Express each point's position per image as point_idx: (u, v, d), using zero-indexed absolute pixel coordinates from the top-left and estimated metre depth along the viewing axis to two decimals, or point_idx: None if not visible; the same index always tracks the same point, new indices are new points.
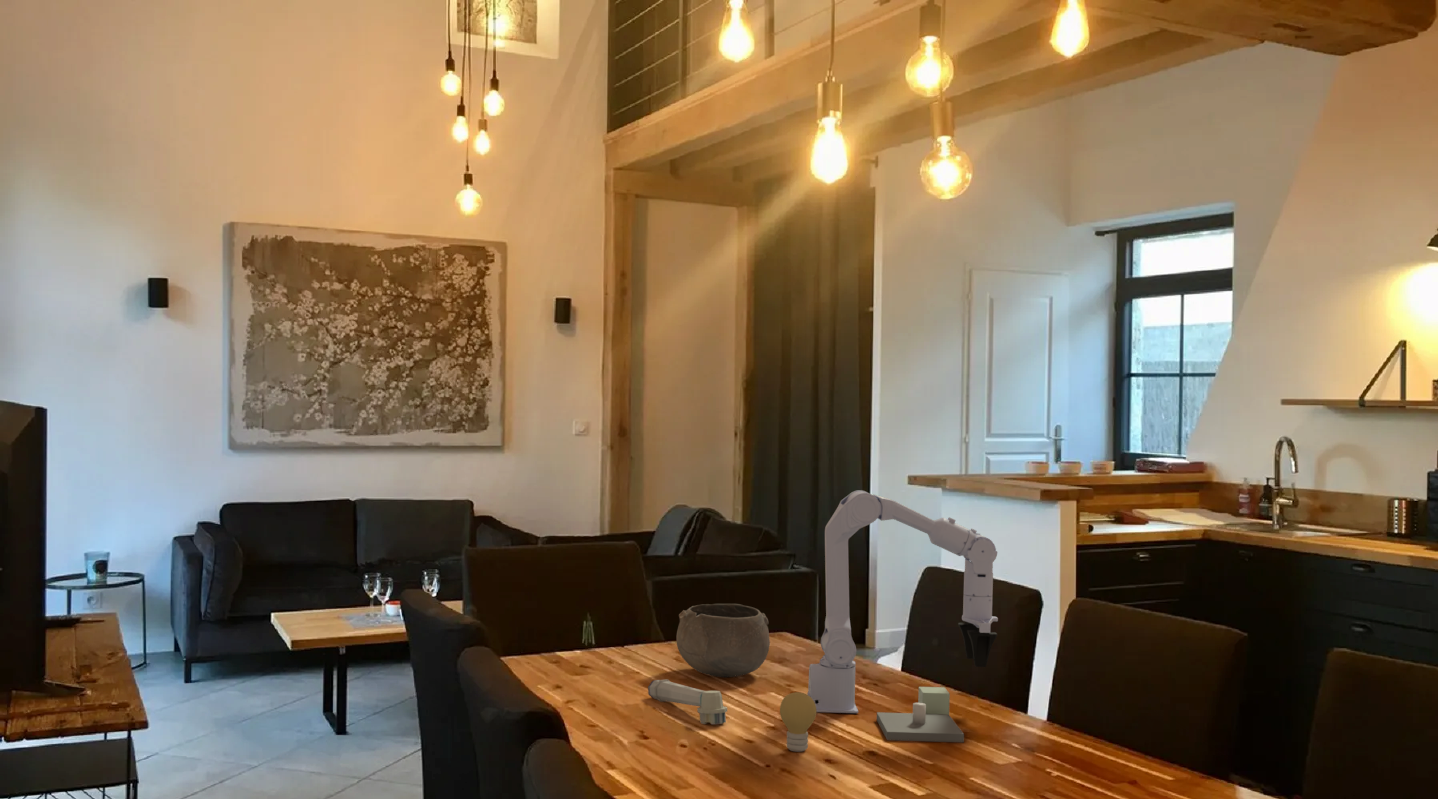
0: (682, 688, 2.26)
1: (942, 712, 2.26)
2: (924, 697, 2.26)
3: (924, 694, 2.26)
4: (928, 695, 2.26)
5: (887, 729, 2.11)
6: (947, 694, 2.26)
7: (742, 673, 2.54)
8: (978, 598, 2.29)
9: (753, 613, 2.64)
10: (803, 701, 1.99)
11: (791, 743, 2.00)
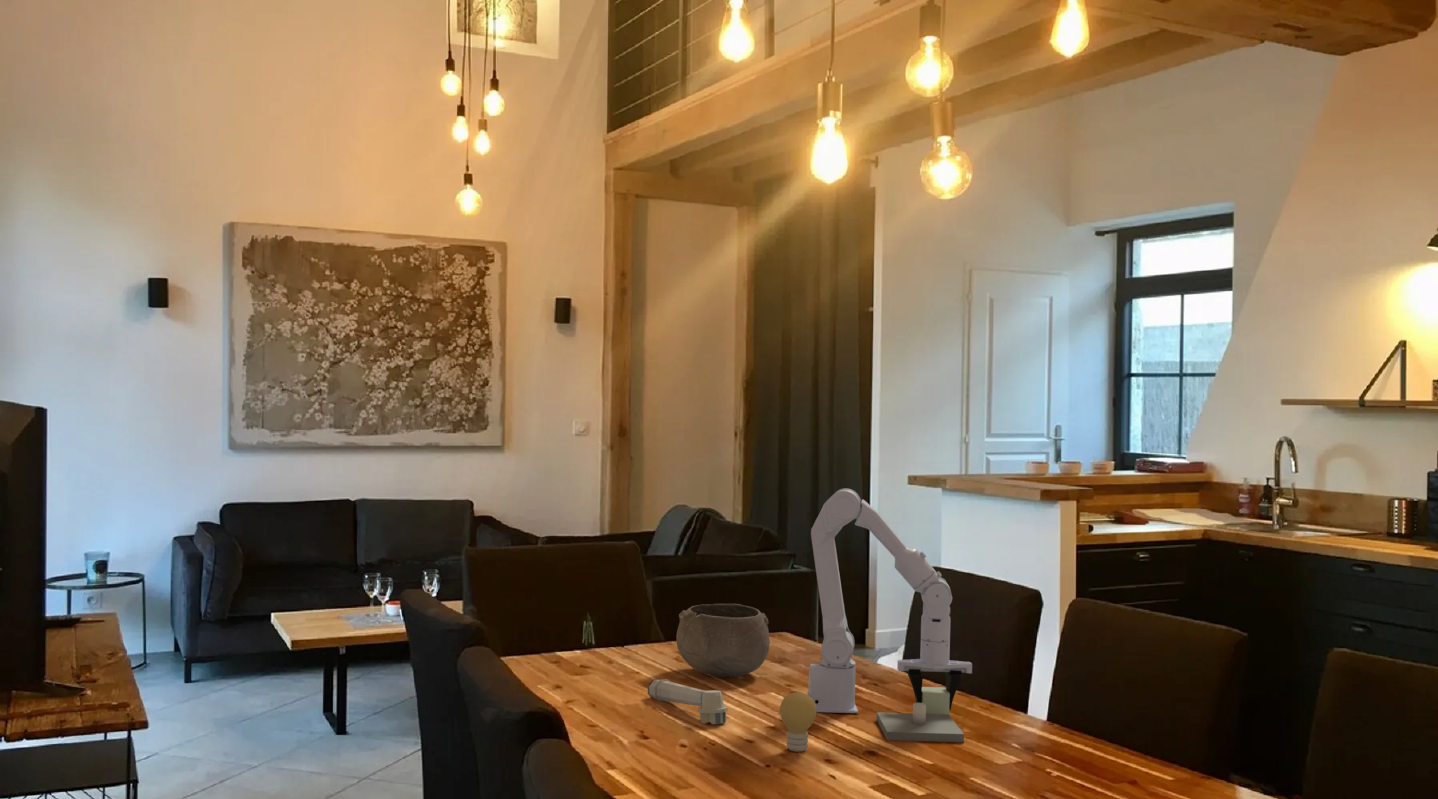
0: (682, 688, 2.26)
1: (942, 712, 2.26)
2: (924, 697, 2.26)
3: (924, 694, 2.26)
4: (928, 695, 2.26)
5: (887, 729, 2.11)
6: (947, 694, 2.26)
7: (742, 673, 2.54)
8: None
9: (753, 613, 2.64)
10: (803, 701, 1.99)
11: (791, 743, 2.00)
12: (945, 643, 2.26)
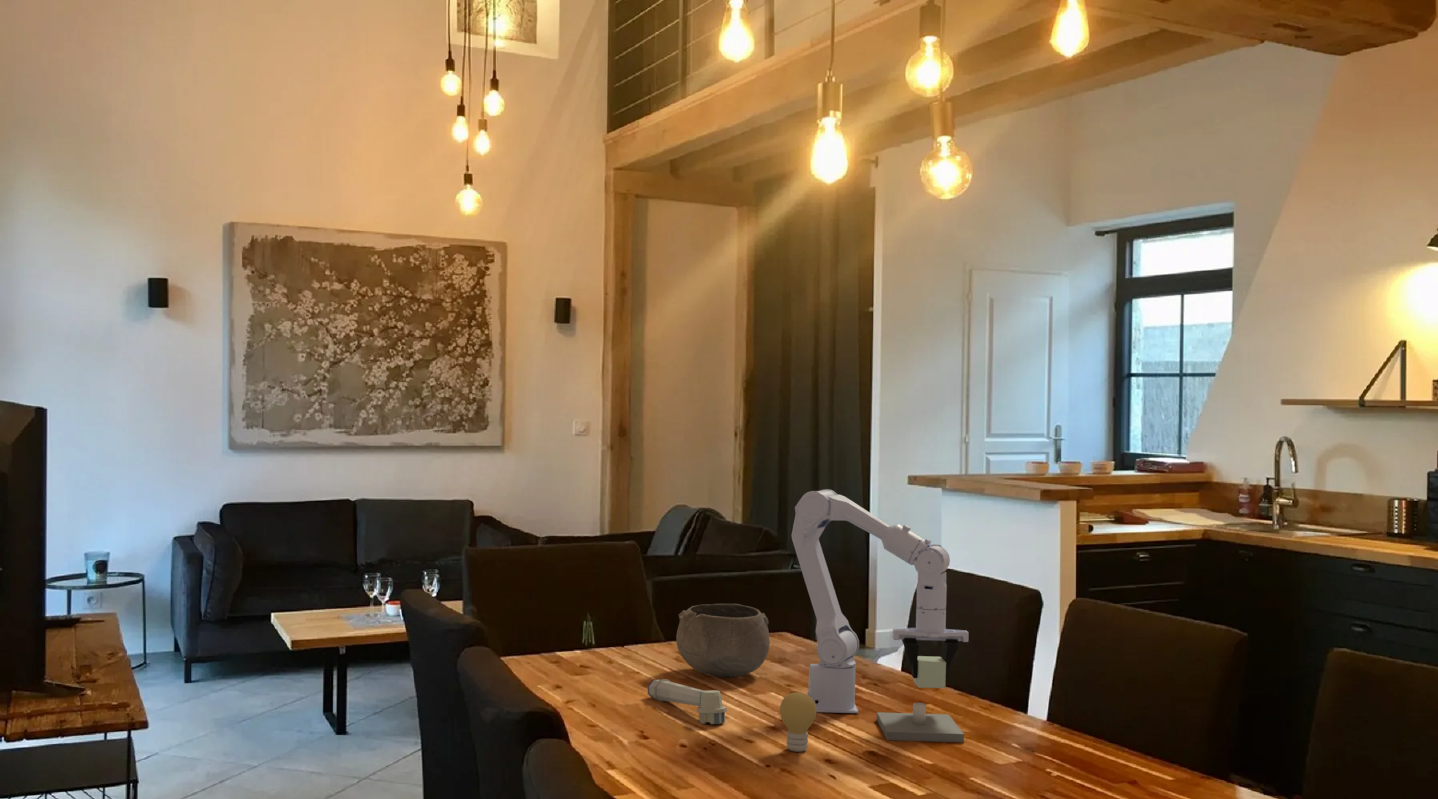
0: (681, 688, 2.26)
1: (938, 681, 2.21)
2: (920, 666, 2.21)
3: (920, 663, 2.21)
4: (924, 664, 2.21)
5: (887, 729, 2.11)
6: (943, 663, 2.22)
7: (742, 673, 2.54)
8: (916, 608, 2.25)
9: (753, 613, 2.64)
10: (803, 701, 1.99)
11: (791, 743, 2.00)
12: (941, 611, 2.22)
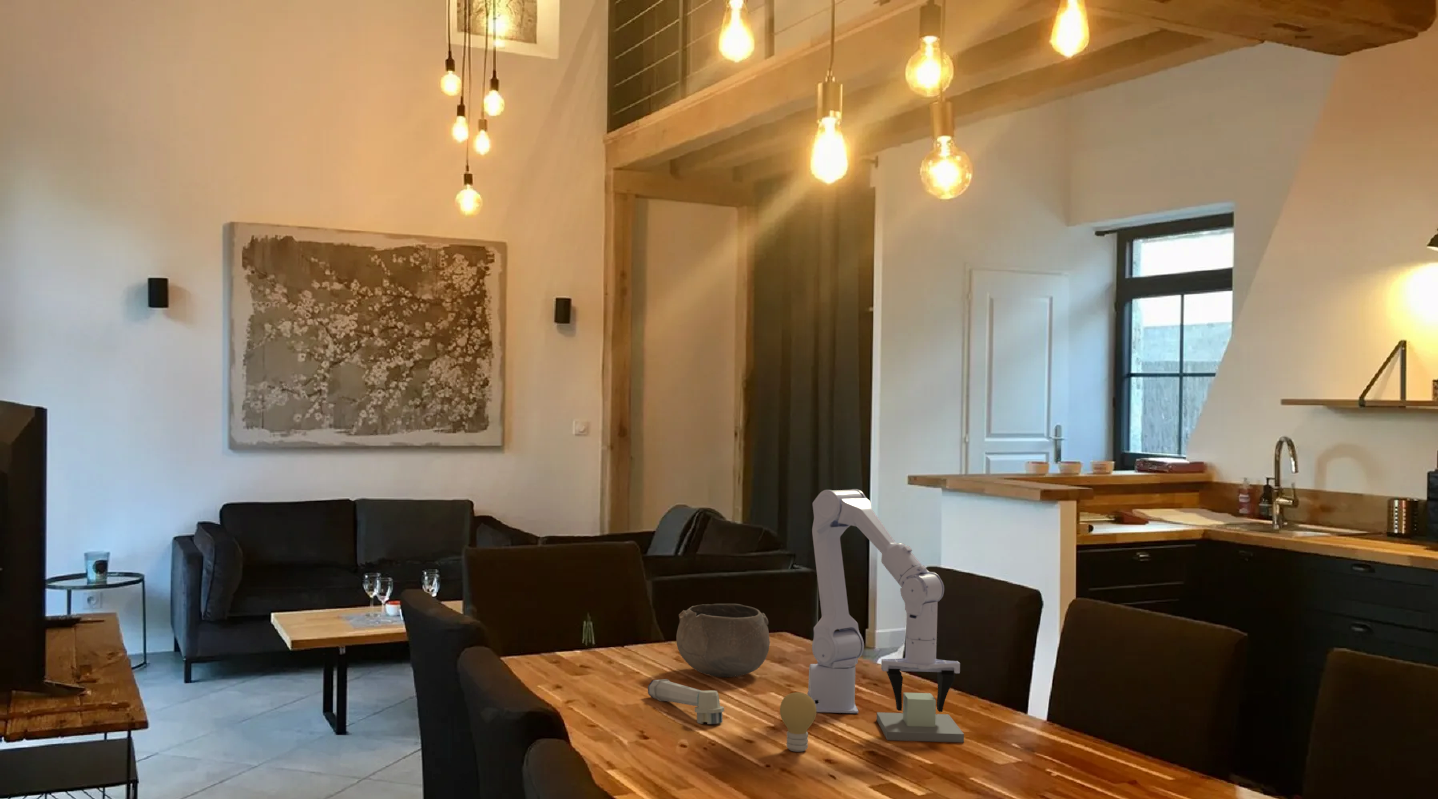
0: (680, 688, 2.26)
1: (928, 719, 2.14)
2: (909, 704, 2.14)
3: (909, 700, 2.14)
4: (913, 701, 2.14)
5: (887, 729, 2.11)
6: (933, 700, 2.14)
7: (742, 673, 2.54)
8: None
9: (753, 613, 2.64)
10: (803, 701, 1.99)
11: (791, 743, 2.00)
12: (931, 641, 2.14)
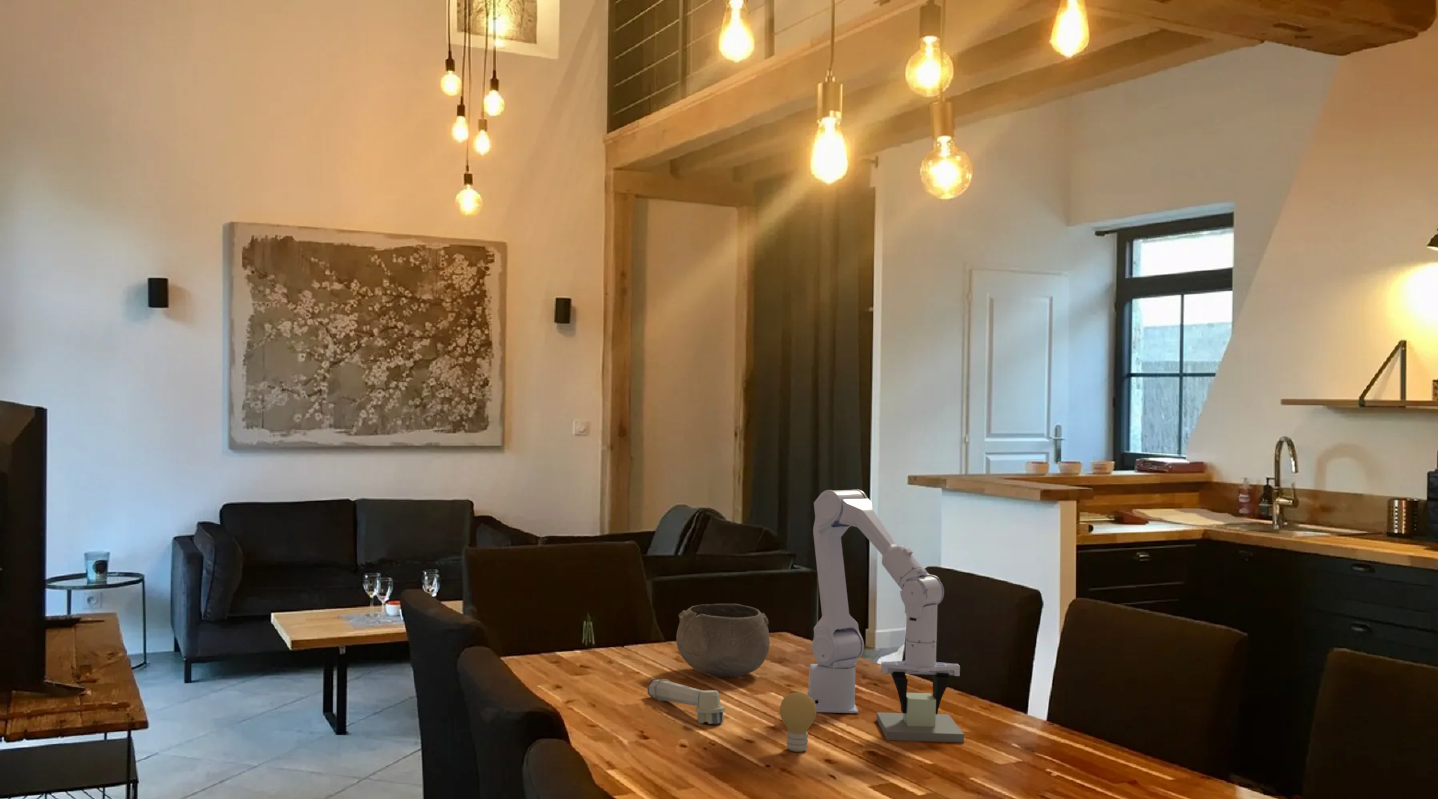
0: (680, 688, 2.26)
1: (928, 719, 2.14)
2: (909, 704, 2.14)
3: (909, 700, 2.14)
4: (913, 701, 2.14)
5: (887, 729, 2.11)
6: (933, 700, 2.14)
7: (742, 673, 2.54)
8: None
9: (753, 613, 2.64)
10: (803, 701, 1.99)
11: (791, 743, 2.00)
12: (931, 644, 2.14)
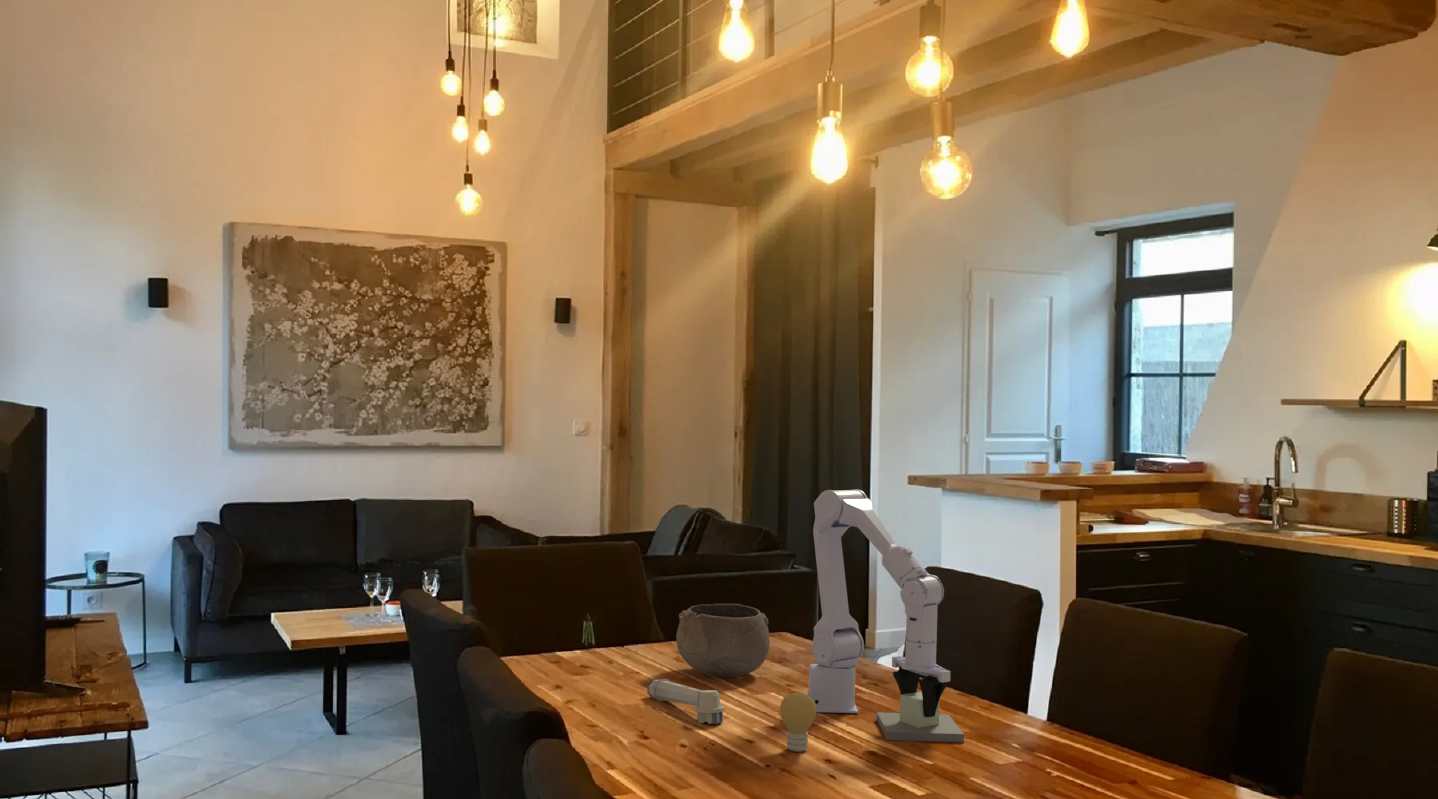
0: (680, 687, 2.27)
1: (913, 719, 2.14)
2: (901, 699, 2.17)
3: (900, 696, 2.17)
4: (903, 698, 2.16)
5: (887, 729, 2.11)
6: (916, 701, 2.13)
7: (742, 673, 2.54)
8: None
9: (753, 613, 2.64)
10: (803, 701, 1.99)
11: (791, 743, 2.00)
12: (916, 644, 2.14)
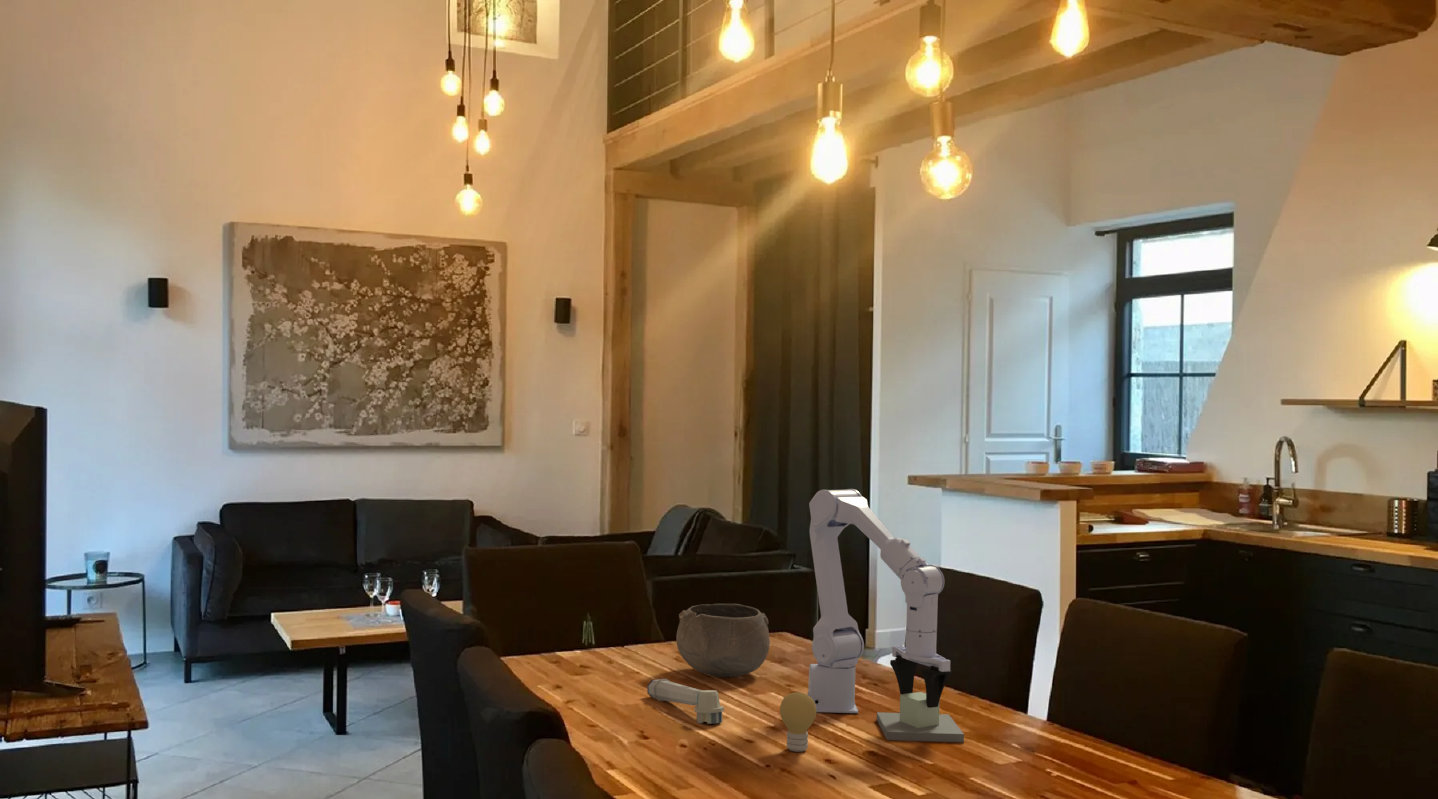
0: (680, 687, 2.27)
1: (913, 719, 2.14)
2: (901, 699, 2.17)
3: (901, 696, 2.17)
4: (903, 698, 2.16)
5: (887, 729, 2.11)
6: (916, 701, 2.13)
7: (742, 673, 2.54)
8: None
9: (753, 613, 2.64)
10: (803, 701, 1.99)
11: (791, 743, 2.00)
12: (917, 633, 2.14)
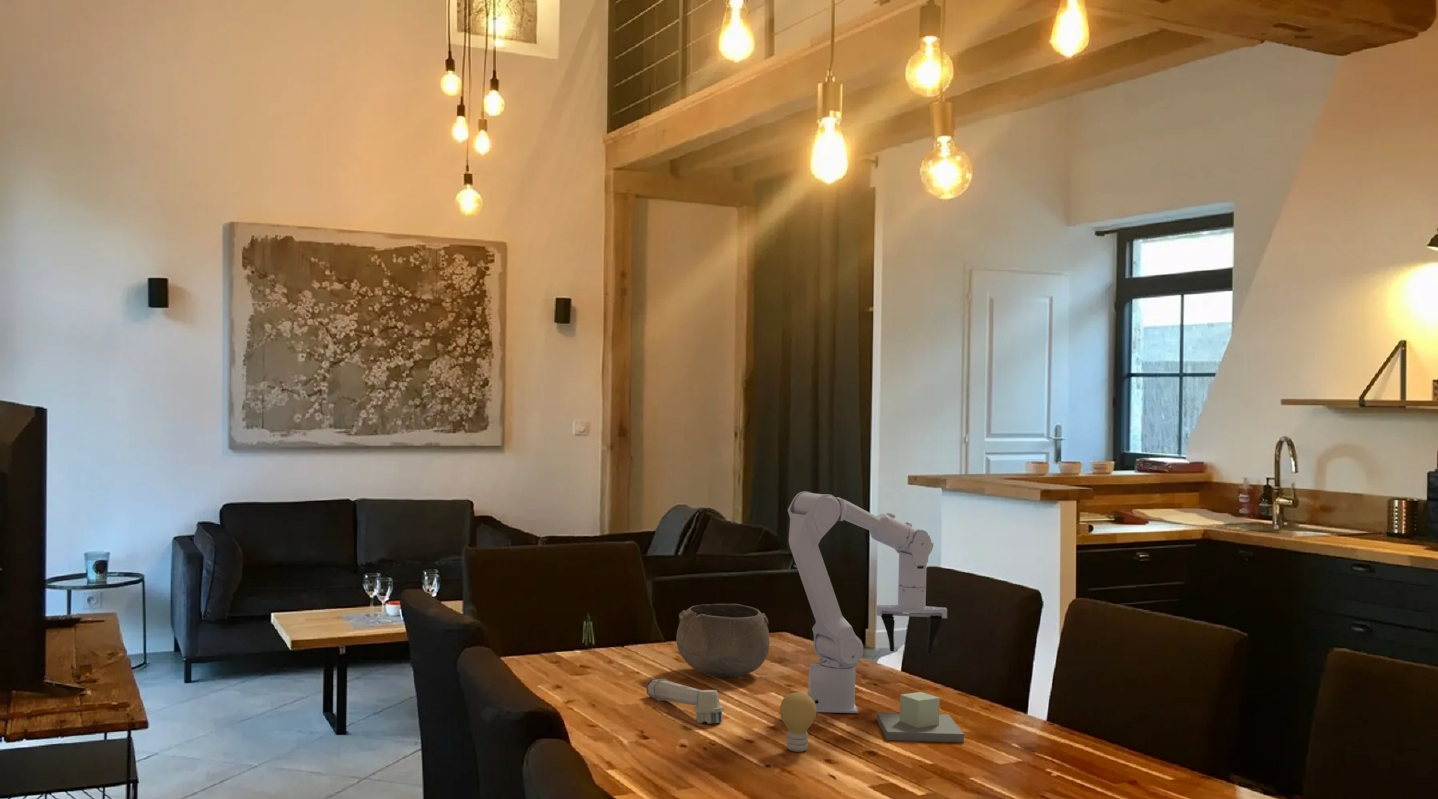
0: (679, 687, 2.27)
1: (913, 719, 2.14)
2: (901, 699, 2.17)
3: (901, 696, 2.17)
4: (903, 698, 2.16)
5: (887, 729, 2.11)
6: (916, 701, 2.13)
7: (742, 673, 2.54)
8: (898, 586, 2.40)
9: (753, 613, 2.64)
10: (803, 701, 1.99)
11: (791, 743, 2.00)
12: (920, 589, 2.37)
